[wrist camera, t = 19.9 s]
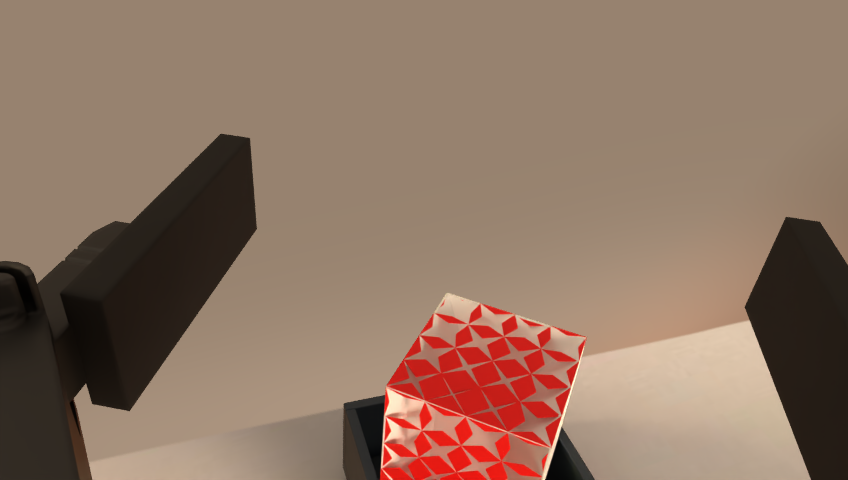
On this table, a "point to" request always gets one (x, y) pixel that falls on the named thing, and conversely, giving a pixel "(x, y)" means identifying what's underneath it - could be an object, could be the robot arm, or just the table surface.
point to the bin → (366, 435)
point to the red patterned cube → (478, 396)
